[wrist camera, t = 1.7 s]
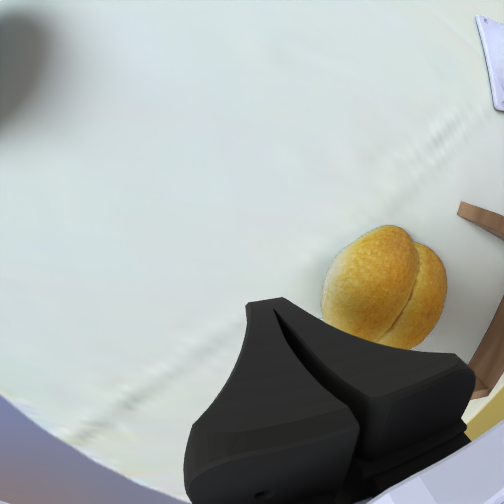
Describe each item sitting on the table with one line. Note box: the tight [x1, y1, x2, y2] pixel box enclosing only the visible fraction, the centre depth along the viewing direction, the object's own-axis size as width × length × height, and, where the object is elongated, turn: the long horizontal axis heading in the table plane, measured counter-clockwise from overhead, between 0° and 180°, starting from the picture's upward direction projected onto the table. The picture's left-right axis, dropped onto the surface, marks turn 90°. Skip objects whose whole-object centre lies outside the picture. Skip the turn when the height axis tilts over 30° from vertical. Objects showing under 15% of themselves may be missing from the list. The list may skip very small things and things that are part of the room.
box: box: [457, 202, 504, 400], centre depth 20 cm, size 13×15×4 cm
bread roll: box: [321, 225, 447, 350], centre depth 18 cm, size 8×9×4 cm
